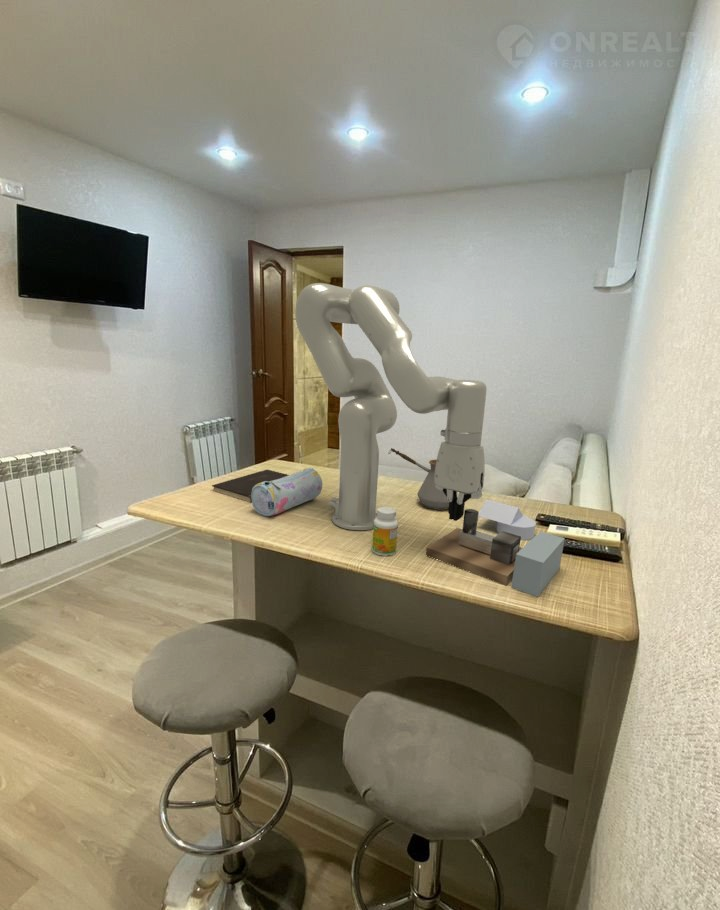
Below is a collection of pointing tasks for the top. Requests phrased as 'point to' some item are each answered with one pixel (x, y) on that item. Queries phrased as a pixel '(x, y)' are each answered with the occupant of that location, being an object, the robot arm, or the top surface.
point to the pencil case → (286, 492)
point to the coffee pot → (428, 486)
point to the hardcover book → (246, 484)
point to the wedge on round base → (508, 519)
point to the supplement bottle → (385, 532)
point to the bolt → (477, 535)
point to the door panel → (478, 555)
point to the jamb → (537, 563)
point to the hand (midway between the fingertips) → (455, 518)
